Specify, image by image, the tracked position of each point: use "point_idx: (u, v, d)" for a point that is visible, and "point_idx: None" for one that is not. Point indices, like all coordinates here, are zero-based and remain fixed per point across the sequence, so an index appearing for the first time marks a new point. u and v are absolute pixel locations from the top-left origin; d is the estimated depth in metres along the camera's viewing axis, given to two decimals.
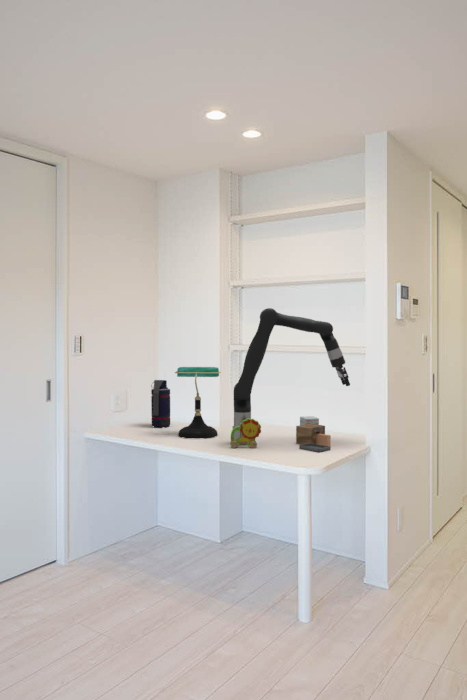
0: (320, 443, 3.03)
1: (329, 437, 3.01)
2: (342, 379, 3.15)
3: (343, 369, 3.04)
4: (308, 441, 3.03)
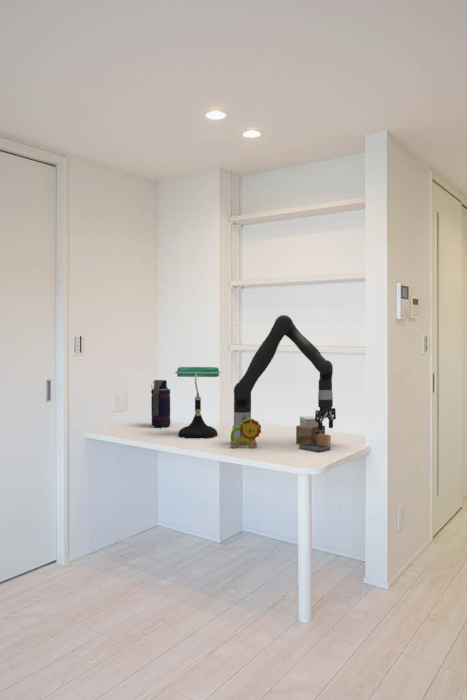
0: (320, 443, 3.03)
1: (329, 437, 3.01)
2: (329, 422, 3.05)
3: (317, 412, 2.97)
4: (308, 441, 3.03)
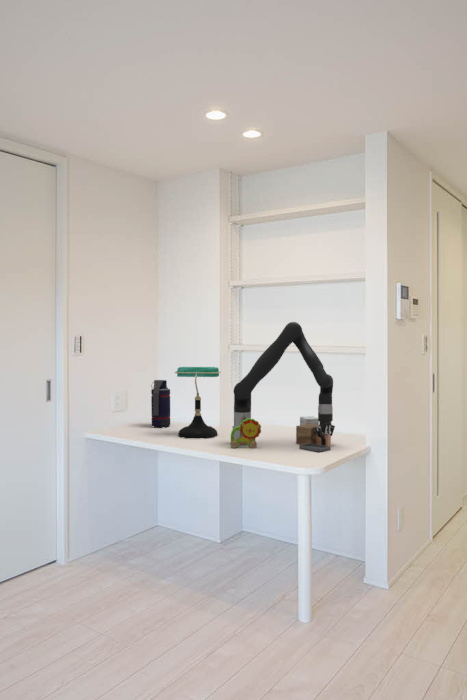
0: (320, 443, 3.03)
1: (329, 437, 3.01)
2: None
3: (317, 430, 2.98)
4: (308, 441, 3.03)
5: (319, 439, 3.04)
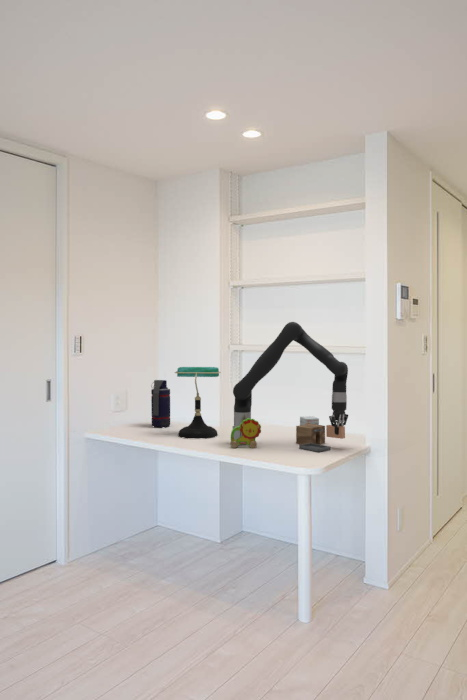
0: (334, 435, 2.96)
1: (343, 428, 2.93)
2: None
3: (331, 418, 2.91)
4: (308, 441, 3.03)
5: (333, 431, 2.96)
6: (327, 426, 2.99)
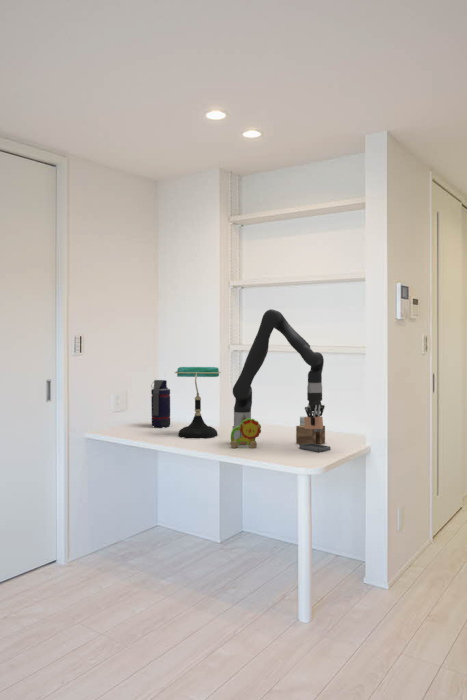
0: (312, 426, 2.93)
1: (321, 418, 2.90)
2: None
3: (307, 409, 2.89)
4: (308, 441, 3.03)
5: None
6: (305, 418, 2.96)
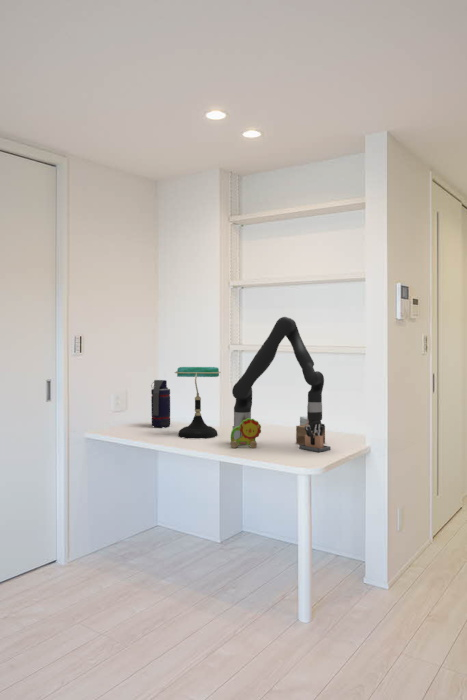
0: (313, 445, 2.93)
1: (321, 438, 2.90)
2: None
3: (306, 428, 2.89)
4: None
5: None
6: (305, 436, 2.96)
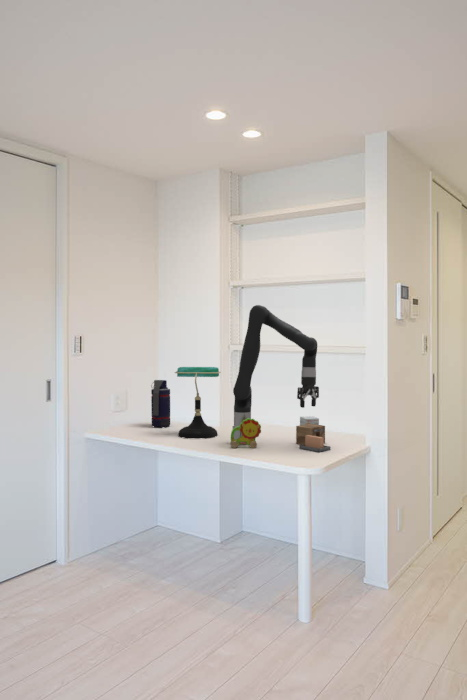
0: (313, 445, 2.93)
1: (322, 439, 2.90)
2: (312, 400, 3.02)
3: (299, 389, 2.94)
4: None
5: (312, 442, 2.93)
6: (306, 436, 2.96)
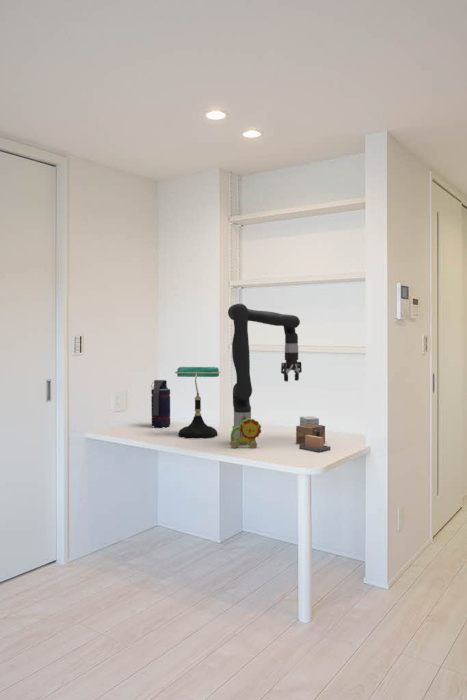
0: (313, 445, 2.93)
1: (322, 439, 2.90)
2: (295, 375, 3.21)
3: (283, 364, 3.13)
4: None
5: (312, 442, 2.93)
6: (306, 436, 2.96)
